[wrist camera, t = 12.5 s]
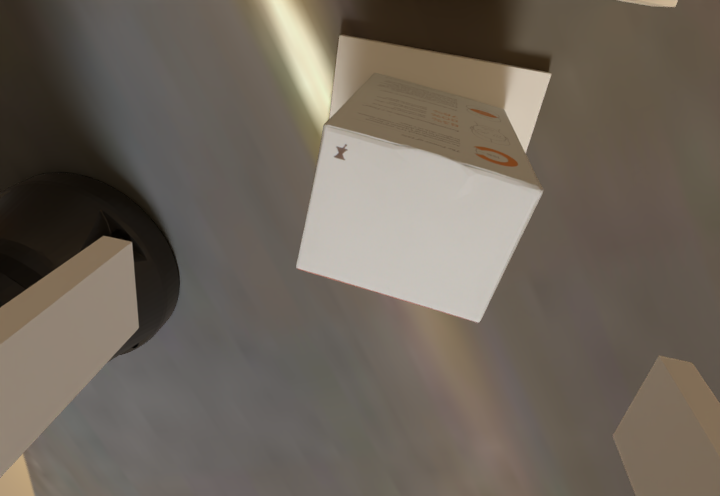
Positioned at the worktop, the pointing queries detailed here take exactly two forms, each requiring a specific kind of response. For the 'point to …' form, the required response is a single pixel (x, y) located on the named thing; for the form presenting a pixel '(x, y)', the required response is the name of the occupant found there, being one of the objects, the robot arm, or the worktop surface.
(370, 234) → the small box
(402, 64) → the ceramic tile
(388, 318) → the worktop surface
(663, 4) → the pocket block
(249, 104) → the worktop surface
